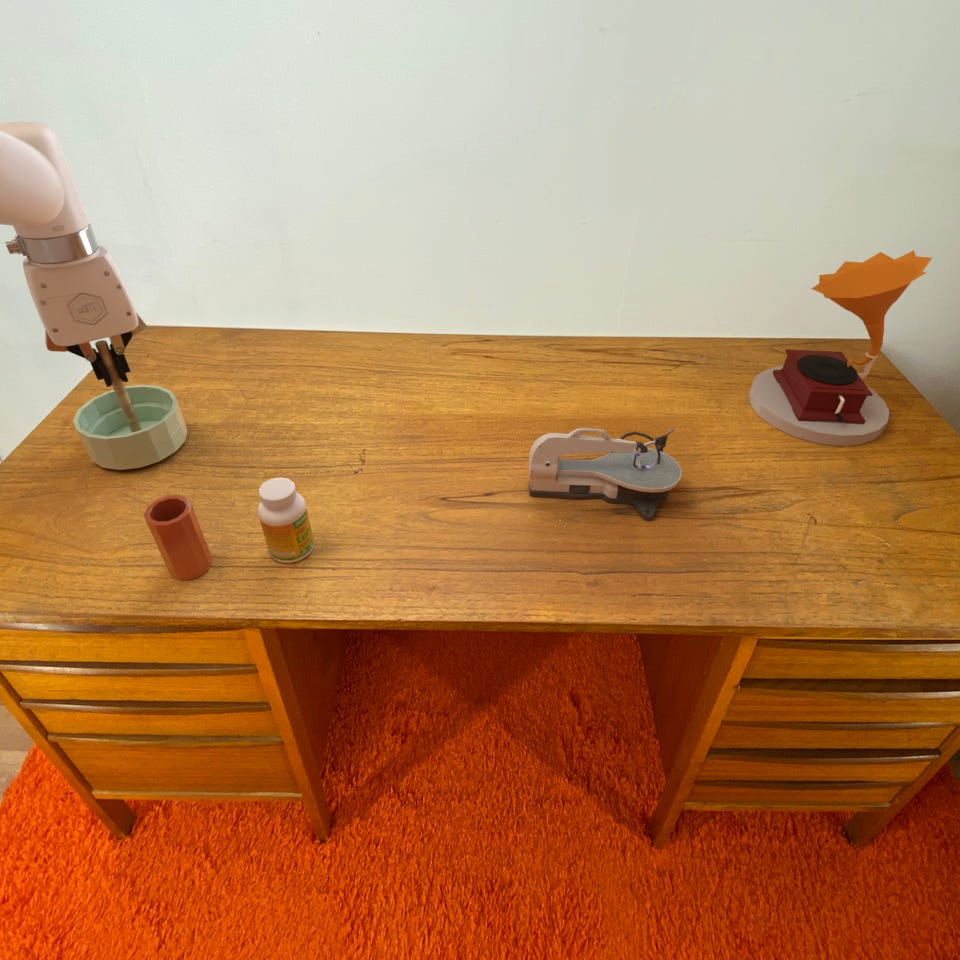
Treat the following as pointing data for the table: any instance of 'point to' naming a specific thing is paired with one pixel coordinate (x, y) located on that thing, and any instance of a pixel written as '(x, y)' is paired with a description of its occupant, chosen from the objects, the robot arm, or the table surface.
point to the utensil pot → (178, 537)
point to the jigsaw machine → (603, 469)
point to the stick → (118, 385)
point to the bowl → (112, 435)
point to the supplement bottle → (284, 521)
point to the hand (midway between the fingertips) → (115, 379)
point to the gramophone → (838, 361)
